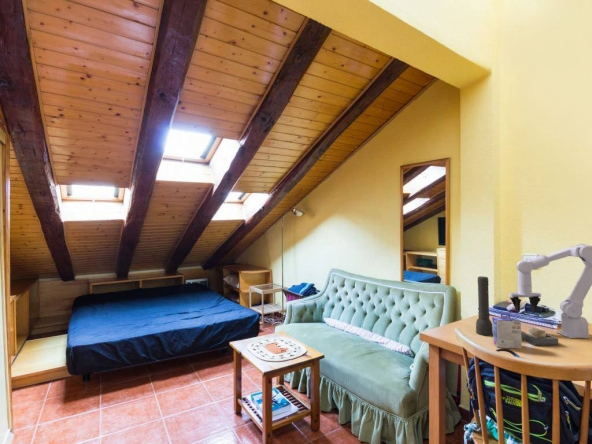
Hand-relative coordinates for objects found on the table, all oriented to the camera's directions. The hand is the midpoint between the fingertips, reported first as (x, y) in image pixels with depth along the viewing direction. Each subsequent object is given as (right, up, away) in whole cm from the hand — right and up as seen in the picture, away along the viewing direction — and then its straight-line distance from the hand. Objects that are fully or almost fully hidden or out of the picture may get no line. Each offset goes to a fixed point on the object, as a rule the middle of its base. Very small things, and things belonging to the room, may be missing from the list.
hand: (525, 311), depth 160 cm
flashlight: (-23, -10, -3) cm, 25 cm away
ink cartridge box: (-22, -10, -19) cm, 31 cm away
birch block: (-5, -9, -15) cm, 18 cm away
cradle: (-5, -9, -15) cm, 18 cm away
